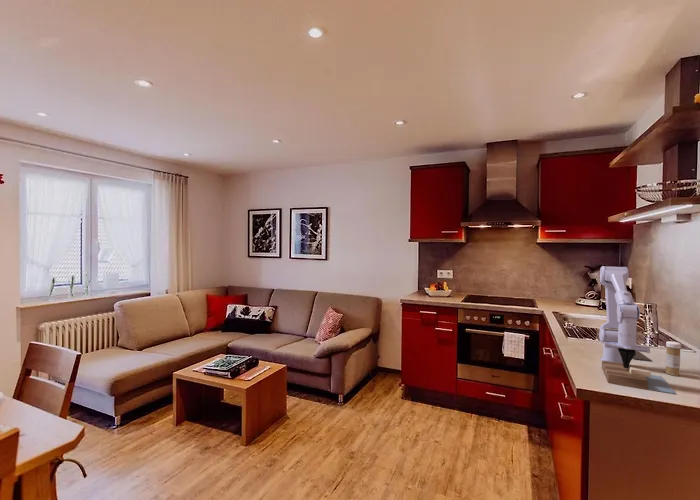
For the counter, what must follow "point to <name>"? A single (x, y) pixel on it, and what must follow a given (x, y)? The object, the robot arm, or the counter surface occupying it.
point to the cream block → (639, 370)
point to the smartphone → (641, 357)
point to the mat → (658, 384)
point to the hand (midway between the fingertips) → (625, 367)
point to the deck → (622, 375)
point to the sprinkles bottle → (673, 358)
